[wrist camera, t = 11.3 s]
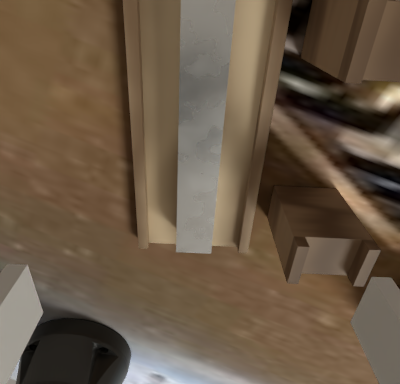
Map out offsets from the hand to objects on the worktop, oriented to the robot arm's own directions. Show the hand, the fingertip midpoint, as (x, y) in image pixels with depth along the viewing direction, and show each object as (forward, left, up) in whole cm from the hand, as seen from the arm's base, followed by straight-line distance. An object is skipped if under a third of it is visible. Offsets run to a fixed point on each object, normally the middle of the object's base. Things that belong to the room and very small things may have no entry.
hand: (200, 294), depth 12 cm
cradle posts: (+11, +1, -19) cm, 22 cm away
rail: (0, +1, -18) cm, 18 cm away
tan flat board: (0, +1, -19) cm, 19 cm away
